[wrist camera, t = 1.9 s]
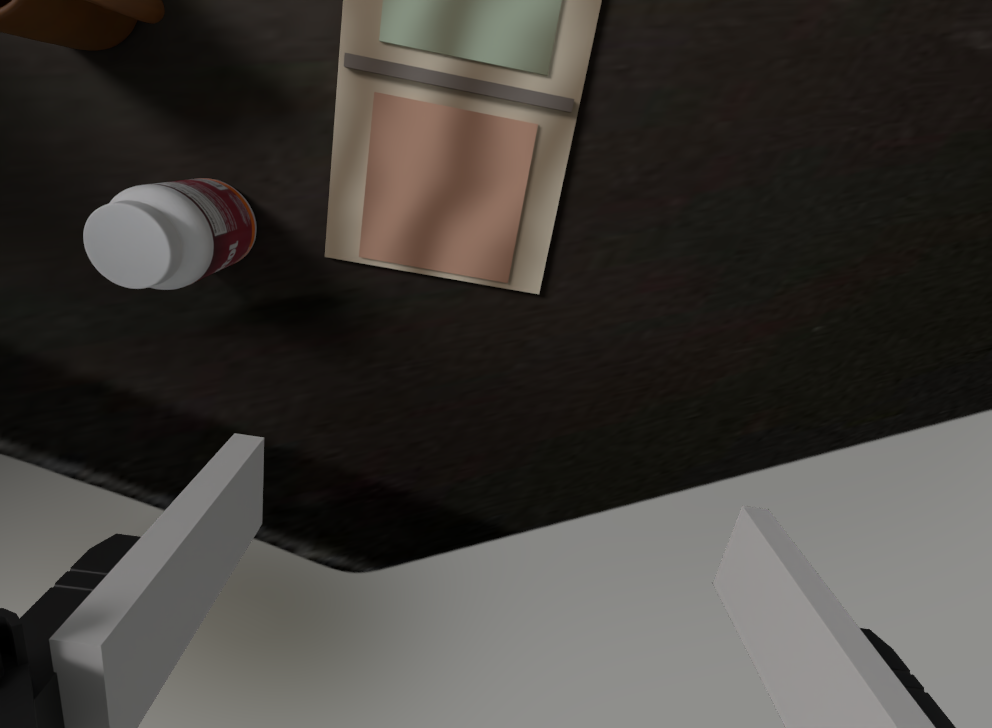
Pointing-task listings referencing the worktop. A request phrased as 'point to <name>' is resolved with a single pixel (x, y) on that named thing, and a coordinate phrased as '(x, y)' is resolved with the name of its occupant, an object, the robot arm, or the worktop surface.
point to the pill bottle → (169, 233)
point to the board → (455, 134)
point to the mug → (77, 20)
